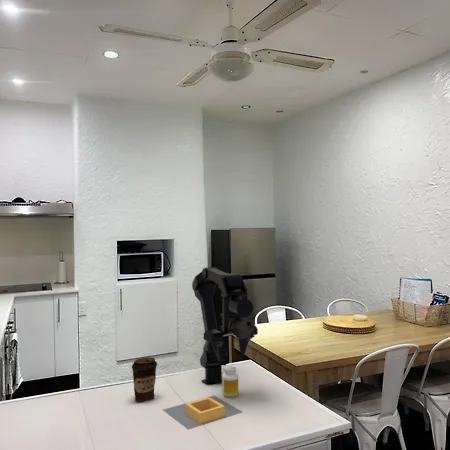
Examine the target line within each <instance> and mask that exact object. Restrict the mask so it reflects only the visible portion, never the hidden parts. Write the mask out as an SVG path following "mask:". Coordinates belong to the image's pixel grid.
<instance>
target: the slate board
mask: <svg viewBox="0 0 450 450" xmlns="http://www.w3.org/2000/svg"><path fill="white" fill-rule="evenodd" d="M208 397H210V398H211V399H213V400H215V401H217V402H218V403H220V404H222V405H223V406H225V417H222V418H218V419H215V420H212V421H209V422H206V423H203V424H199V423H198V422H196V421H195V420H193V419H192V418H190V417H189V416H188V415H186V414H185V404H186V403H187V402H185V403H183V404H179V405H174V406H172V407H167V408H163V409H162V411H163V412H165V413H166V414H167V415H168V416H169V417H171V418H172V419H174V420H175V421H176V422H178V423H179V424H180V425H182V426H183V427H184V428H185V429H186V430H192V429H195V428H199V427H201V426H204V425H208V424H210V423H213V422H216V421H219V420H224V419H226V418H229V417H233V416H236V415H239V414H242V413H243V411H242V410H240V409H239V408H237V407H235V406H234V405H231V404H230V403H228V402H226V401H224V400H223V399H222V398H219V397H218V396H215V395H211V396H208ZM208 397H206V398H208ZM204 398H205V397H204ZM204 398H201V399H204ZM201 399H199V400H201ZM197 400H198V399H196V400H195V401H197ZM193 401H194V400H193ZM193 401H189V402H188V403H190V402H193ZM206 410H208V409H206ZM202 411H204V410H202Z"/></svg>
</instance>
